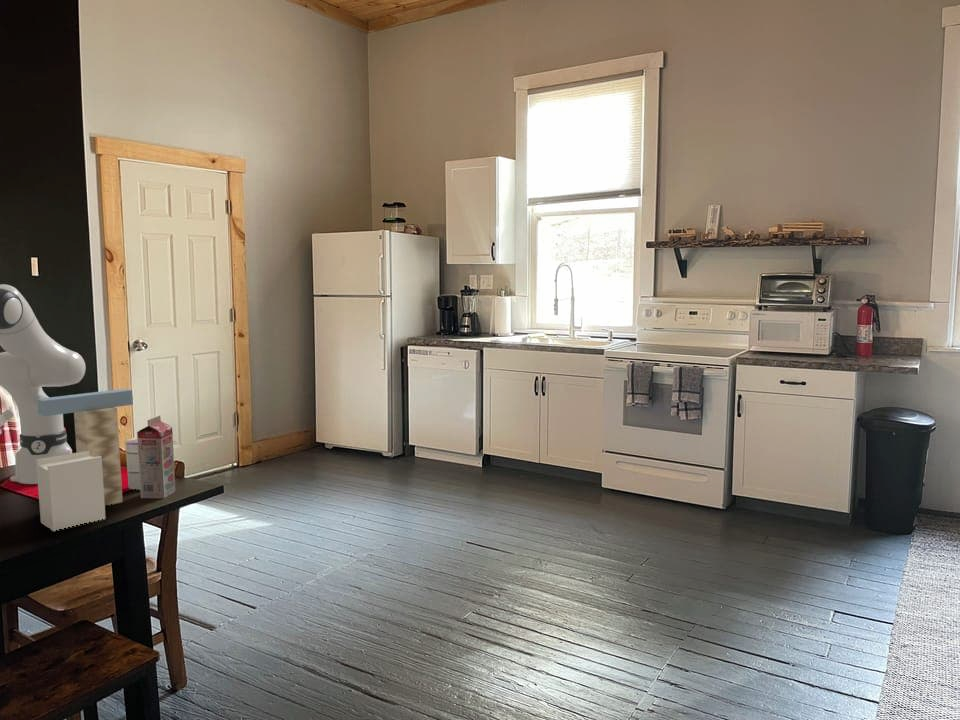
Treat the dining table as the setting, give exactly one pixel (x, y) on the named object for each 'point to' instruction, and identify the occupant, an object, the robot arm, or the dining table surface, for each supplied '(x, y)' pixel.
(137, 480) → the syrup box
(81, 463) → the cream block
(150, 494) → the juice carton
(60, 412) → the bar
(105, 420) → the post
